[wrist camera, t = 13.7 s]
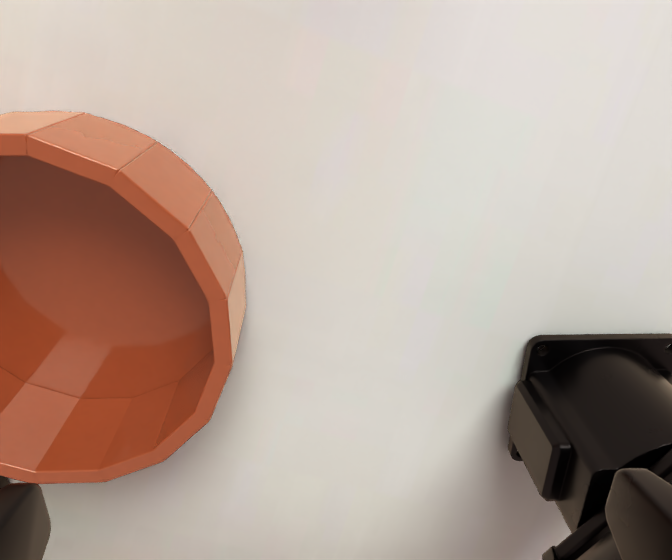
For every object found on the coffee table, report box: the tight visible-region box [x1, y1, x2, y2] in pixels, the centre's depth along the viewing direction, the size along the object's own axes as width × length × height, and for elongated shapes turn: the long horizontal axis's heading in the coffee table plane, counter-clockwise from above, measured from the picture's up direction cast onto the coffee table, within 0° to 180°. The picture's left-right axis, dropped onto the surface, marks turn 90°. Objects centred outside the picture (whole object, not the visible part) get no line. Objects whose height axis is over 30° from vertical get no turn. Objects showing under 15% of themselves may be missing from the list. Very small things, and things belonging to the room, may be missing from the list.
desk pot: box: [0, 111, 246, 484], centre depth 19 cm, size 12×12×4 cm
